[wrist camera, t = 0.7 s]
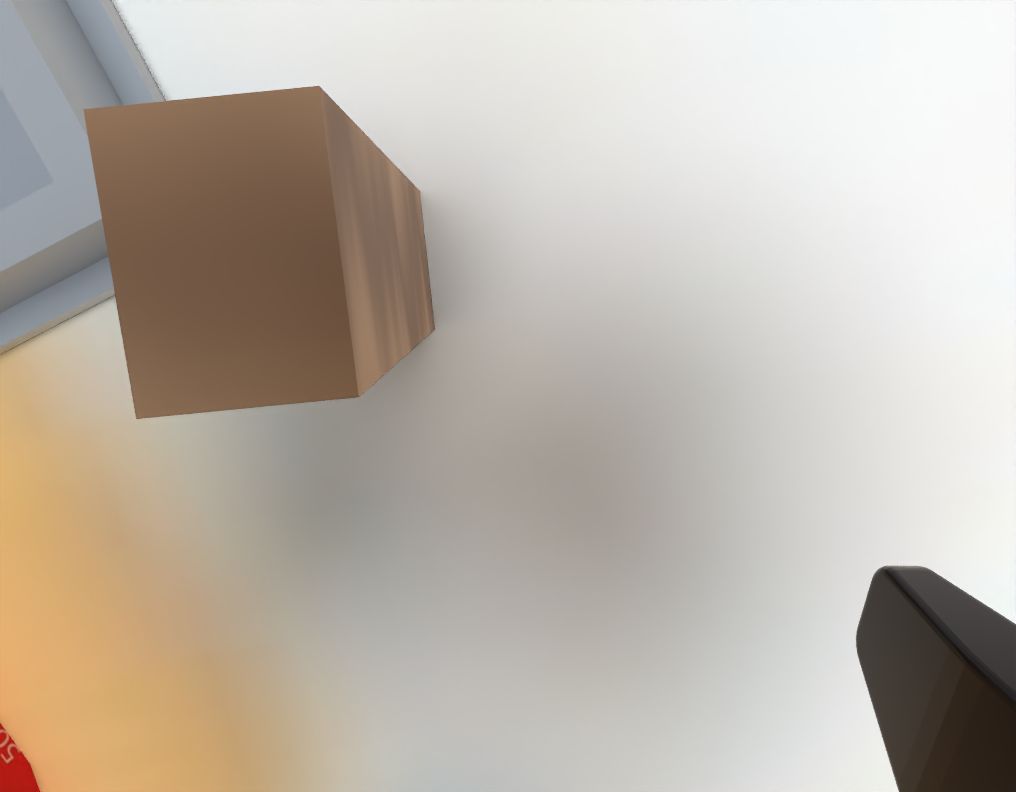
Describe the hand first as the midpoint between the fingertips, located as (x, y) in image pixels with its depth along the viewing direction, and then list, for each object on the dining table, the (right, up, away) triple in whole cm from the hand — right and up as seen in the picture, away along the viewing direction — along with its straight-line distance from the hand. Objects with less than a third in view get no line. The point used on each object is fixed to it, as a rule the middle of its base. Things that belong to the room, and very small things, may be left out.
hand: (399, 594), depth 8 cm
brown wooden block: (-3, +6, +16) cm, 17 cm away
